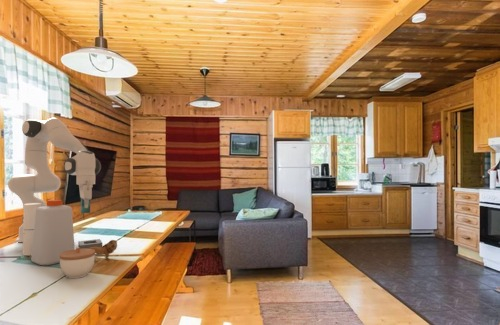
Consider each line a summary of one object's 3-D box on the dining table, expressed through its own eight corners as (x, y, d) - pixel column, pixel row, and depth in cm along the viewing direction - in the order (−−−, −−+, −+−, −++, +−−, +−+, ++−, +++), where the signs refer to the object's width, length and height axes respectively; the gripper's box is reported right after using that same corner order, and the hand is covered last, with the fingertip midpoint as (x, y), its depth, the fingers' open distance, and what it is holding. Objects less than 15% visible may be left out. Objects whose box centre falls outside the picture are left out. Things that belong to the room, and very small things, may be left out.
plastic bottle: (78, 259, 144) (79, 199, 144) (42, 267, 131) (43, 202, 132) (63, 253, 152) (64, 198, 153) (27, 261, 140) (29, 200, 140)
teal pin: (89, 212, 162) (89, 197, 162) (90, 212, 158) (90, 197, 159) (80, 212, 160) (80, 197, 160) (81, 213, 156) (81, 197, 157)
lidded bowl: (87, 267, 131) (87, 242, 131) (100, 274, 123) (100, 247, 123) (54, 275, 121) (54, 248, 122) (66, 283, 113) (66, 253, 114)
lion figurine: (116, 257, 147) (116, 238, 148) (117, 259, 143) (117, 240, 143) (82, 261, 140) (82, 241, 141) (81, 264, 136) (82, 244, 136)
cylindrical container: (31, 256, 148) (31, 204, 148) (18, 255, 149) (19, 204, 150) (43, 252, 155) (44, 203, 155) (32, 251, 156) (32, 202, 157)
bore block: (78, 251, 157) (78, 241, 157) (99, 248, 163) (99, 239, 163) (79, 255, 149) (80, 245, 149) (102, 252, 154) (102, 242, 155)
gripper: (95, 181, 153) (94, 208, 152) (90, 180, 170) (90, 205, 169) (80, 181, 149) (80, 209, 149) (77, 181, 166) (77, 206, 166)
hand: (85, 207), depth 159 cm, fingers closed on teal pin, 4 cm apart
